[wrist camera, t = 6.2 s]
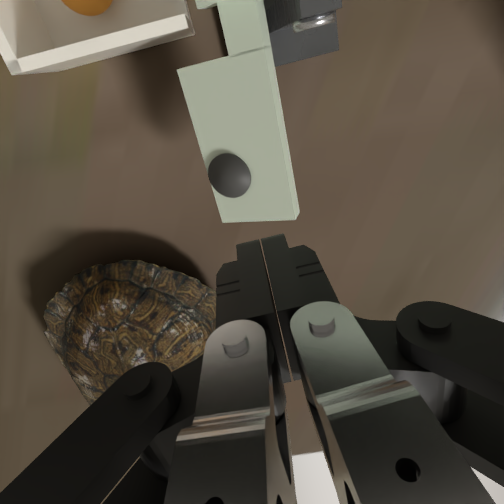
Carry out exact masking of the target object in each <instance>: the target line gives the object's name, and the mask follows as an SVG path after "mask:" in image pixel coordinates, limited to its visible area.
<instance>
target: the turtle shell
mask: <svg viewBox="0 0 504 504" xmlns="http://www.w3.org/2000/svg"><path fill="white" fill-rule="evenodd" d="M216 297H217V296H216V292H215V290H213V289H211V288H209V287H207V286H205V285H203V284H201V282H200V281H199V280H198V279H196V278H194V277H190V276H188V275H186V274H184V273H181V272H178V271H174V270H170V269H167V268H166V267H159V266H158V265H155V264H151V263H147V262H143V261H141V260H121V261H119V262H117V263H111V264H107V265H105V266H103V265H102V264H96V265H95V266H92V267H88V268H85V269H84V270H82V272H81V273H80V274H76V275H75V276H74V277H73V279H72V280H71V282H68V283H66V284H65V286H64V287H63V291H59V292H56V294H55V296H54V298H53V299H51V300H49V301H48V302H47V304H46V305H47V309H46V310H44V311H45V314H44V319H45V322H46V325H47V328H48V329H47V330H45V331H44V334H45V335H46V337H47V339H48V342H49V343H50V345H51V346H52V348H53V350H54V351H55V353H56V355H57V356H58V358H59V359H60V361H61V362H62V364H63V366H64V367H65V368H66V369H67V370H68V372H69V374H70V375H71V377H72V379H73V381H74V382H75V383H76V385H77V387H78V388H79V390H80V391H81V393H82V395H83V396H84V398H85V399H86V400H87V402H88V403H89V404H90V406H91V405H92V404H93V403H94V402H95V401H96V400H97V399H98V398H99V397H100V396H101V395H102V394H103V393H104V392H105V391H106V390H107V389H108V388H109V387H110V386H111V385H112V384H113V383H114V382H115V381H116V380H117V379H118V378H119V377H121V376H122V375H123V374H124V373H125V372H127V371H128V370H130V369H131V368H133V367H135V366H137V365H140V364H143V363H147V362H160V363H163V364H165V365H167V366H168V367H169V368H170V370H171V372H172V371H174V370H176V369H178V368H180V367H182V366H184V365H186V364H188V363H190V362H192V361H194V360H195V359H197V358H198V357H200V356H201V355H202V354H203V353H204V349H205V344H206V341H207V339H208V338H209V336H210V335H211V334H212V333H213V332H214V331H215V330H216Z"/></svg>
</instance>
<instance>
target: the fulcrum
mask: <svg viewBox="0 0 504 504" xmlns="http://www.w3.org/2000/svg"><path fill="white" fill-rule="evenodd" d="M263 2H264V8H265V13H266V19H267V25H268V31H269V37H270V42H271V48H272V54H273V60H274V66H275V67H276V66H280V65H284V64H288V63H291V62H295V61H299V60H303V59H307V58H310V57H314V56H318V55H322V54H326V53H329V52H333V51H337V50H339V44H338V32H337V21H336V10H337V9H339V8H342V0H263Z"/></svg>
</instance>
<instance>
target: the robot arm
mask: <svg viewBox="0 0 504 504" xmlns="http://www.w3.org/2000/svg"><path fill="white" fill-rule="evenodd" d="M261 242H262V246H263V251H264V255H265V260H266V264H267V269H268V273H269V278H270V282H271V287H272V291H273V295H272V291H271V287H270V282H269V278H268V274H267V270H266V266H265V262H264V258H263V254H262V250H261V246H260V242H259V240H254V241H250V242H246V243H242V244H237V245H236V248H237V260H238V261H233V262H229V263H225V264H223V265H222V267H221V268H220V270H219V272H218V273H217V278H216V286H217V288H216V296H217V297H216V330H215V331H214V332H213V333H212V334H211V335H210V336H209V338H208V339H207V341H206V344H205V349H204V353H203V354H202V355H201V356H200V357H198V358H197V359H195V360H194V361H192V362H190V363H188V364H186V365H184V366H182V367H180V368H178V369H176V370H174V371H172V372H171V370H170V368H169V367H168V366H167V365H165V364H163V363H160V362H147V363H143V364H140V365H137V366H135V367H133V368H131V369H130V370H128V371H127V372H125V373H124V374H123V375H122V376H121V377H119V378H118V379H117V380H116V381H115V382H114V383H113V384H112V385H111V386H110V387H109V388H108V389H107V390H106V391H105V392H104V393H103V394H102V395H101V396H100V397H99V398H98V399H97V400H96V401H95V402H94V403H93V404H92V405H91V406H89V407H88V408H87V409H86V410H85V411H84V412H83V413H82V414H81V415H80V416H79V417H78V418H77V419H76V420H75V421H74V422H73V423H72V424H71V425H70V426H69V427H68V428H67V429H66V430H65V431H64V432H63V433H62V434H61V435H60V436H59V437H58V438H57V439H55V440H54V441H53V442H52V443H51V444H50V445H49V446H48V447H47V448H46V449H45V450H44V451H43V452H42V453H41V454H40V455H39V456H38V457H37V458H36V459H35V460H34V461H33V462H32V463H31V464H30V465H29V466H28V467H27V468H26V469H25V470H24V471H22V472H21V473H20V474H19V475H18V476H17V477H16V478H15V479H14V480H13V481H12V482H11V483H10V484H9V485H8V486H7V487H6V488H5V489H4V490H3V491H2V492H1V493H0V504H100V503H101V502H102V501H103V499H104V498H105V497H106V496H107V495H108V493H109V492H110V491H111V490H112V489H113V487H114V486H115V485H116V484H117V482H118V481H119V480H120V479H121V478H122V476H123V475H124V474H125V473H126V471H127V470H128V469H129V468H130V467H131V465H132V464H133V463H134V462H135V461H136V459H137V458H138V457H140V458H139V459H138V461H137V462H136V463H135V464H134V466H133V467H132V468H131V469H130V471H129V472H128V473H127V474H126V475H125V477H124V478H123V479H122V480H121V482H120V483H119V484H118V485H117V486H116V488H115V489H114V490H113V491H112V493H111V494H110V495H109V496H108V497H107V499H106V500H105V501H104V502H103V504H297V499H296V492H295V483H294V474H293V464H292V454H291V444H290V435H289V425H288V415H287V410H286V395H285V390H284V385H283V383H286V382H291V378H290V373H289V369H288V364H287V359H286V355H285V350H284V346H283V341H282V336H281V332H280V327H279V323H278V318H279V322H280V326H281V330H282V334H283V338H284V342H285V347H286V351H287V355H288V359H289V363H290V367H291V371H292V375H293V379H294V381H295V380H299V379H302V383H303V387H304V391H305V395H306V400H307V404H308V408H309V412H310V415H311V417H312V420H313V423H314V426H315V429H316V432H317V435H318V438H319V441H320V444H321V447H322V450H323V453H324V456H325V459H326V462H327V464H328V468H329V470H330V473H331V476H332V479H333V482H334V486H335V489H336V492H337V495H338V499H339V503H340V504H496V503H495V502H494V500H493V499H492V498H491V496H490V495H489V493H488V492H487V490H486V489H485V488H484V486H483V485H482V483H481V482H480V480H479V479H478V477H477V476H476V474H475V473H474V472H473V470H472V469H471V467H472V468H474V469H476V470H477V471H479V472H480V473H482V474H483V475H485V476H487V477H488V478H490V479H492V480H493V481H495V482H496V483H498V484H500V485H501V486H503V487H504V322H501V321H498V320H495V319H492V318H489V317H486V316H483V315H480V314H477V313H473V312H470V311H467V310H464V309H461V308H458V307H455V306H452V305H449V304H446V303H441V302H434V301H423V302H417V303H413V304H411V305H408V306H406V307H405V308H403V309H402V310H401V311H400V312H399V314H398V316H397V318H396V321H379V320H367V319H362V318H359V317H356V316H354V315H353V314H352V313H351V312H350V310H348V309H347V308H346V307H344V306H343V305H341V304H340V303H339V301H338V299H337V297H336V294H335V292H334V290H333V288H332V286H331V284H330V282H329V280H328V278H327V276H326V274H325V272H324V270H323V268H322V266H321V263H320V261H319V259H318V257H317V255H316V253H315V251H313V250H311V249H310V248H308V247H307V246H305V245H301V246H297V247H293V248H289V247H288V244H287V242H286V239H285V236H284V234H279V235H275V236H271V237H267V238H262V239H261ZM273 296H274V300H275V304H274V300H273ZM275 305H276V309H277V313H276V309H275ZM277 314H278V318H277Z"/></svg>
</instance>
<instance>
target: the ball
mask: <svg viewBox="0 0 504 504" xmlns="http://www.w3.org/2000/svg"><path fill="white" fill-rule="evenodd" d="M61 1H62V2H63V3H64V4H65V5H66V6H67V7H69V8H70V9H71V10H73V11H75V12H76V13H79V14H82V15H85V16H96V15H99V14H101V13H103V12H104V11H106V10H107V9H108V8H109V6H110V5H111V3H112V1H113V0H61Z"/></svg>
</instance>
